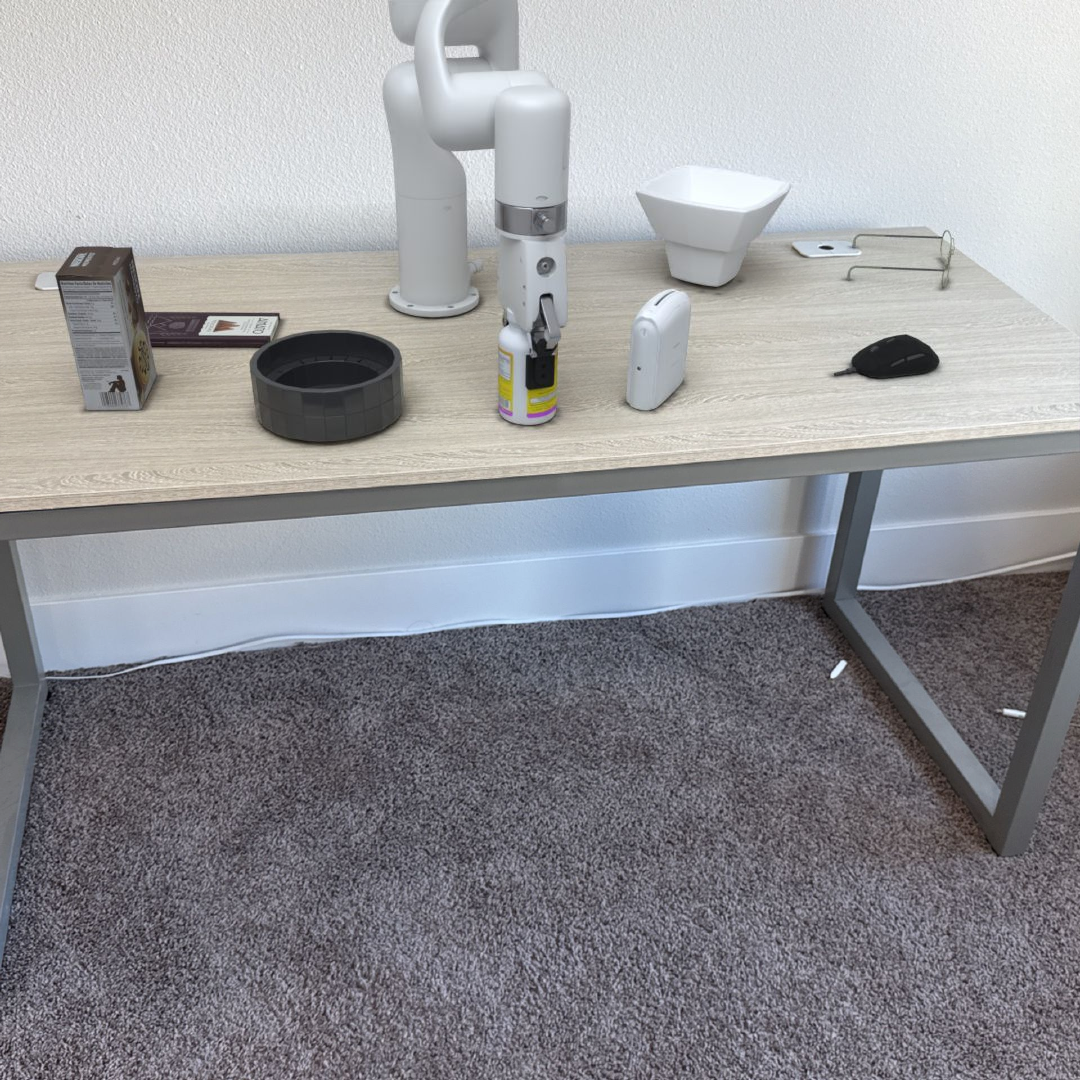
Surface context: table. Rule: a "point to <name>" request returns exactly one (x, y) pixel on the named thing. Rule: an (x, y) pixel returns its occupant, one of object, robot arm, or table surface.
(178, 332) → the chocolate bar
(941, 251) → the eyeglasses
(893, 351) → the gaming mouse
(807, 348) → the table surface
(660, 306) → the photo printer
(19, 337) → the table surface
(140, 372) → the coffee box
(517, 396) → the supplement bottle
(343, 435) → the black bowl
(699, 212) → the bowl
